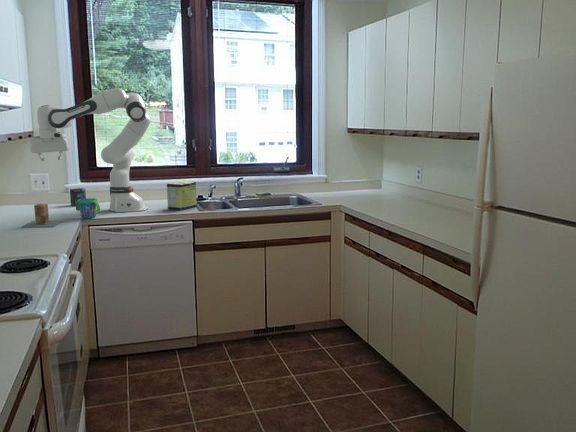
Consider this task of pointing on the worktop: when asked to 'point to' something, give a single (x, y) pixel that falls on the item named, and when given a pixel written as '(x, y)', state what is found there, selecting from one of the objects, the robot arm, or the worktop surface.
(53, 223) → the mat
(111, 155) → the robot arm
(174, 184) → the protein box
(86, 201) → the snack cup
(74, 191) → the box
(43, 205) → the walnut block
